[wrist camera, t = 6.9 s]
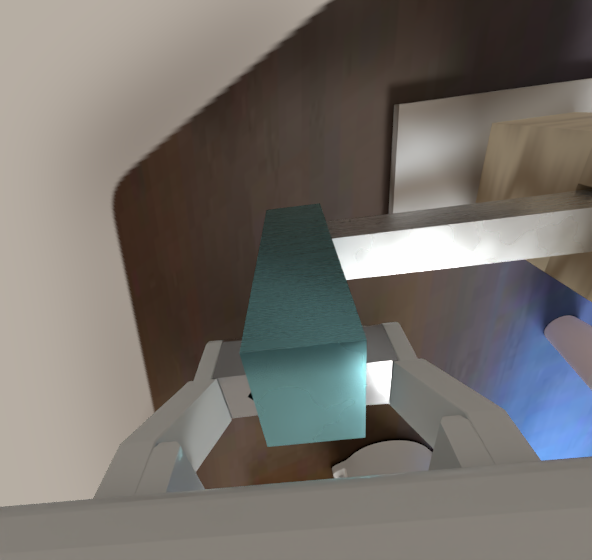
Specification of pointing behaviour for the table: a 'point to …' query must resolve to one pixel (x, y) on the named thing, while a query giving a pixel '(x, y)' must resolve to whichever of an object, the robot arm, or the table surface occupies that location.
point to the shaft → (340, 306)
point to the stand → (497, 155)
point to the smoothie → (573, 344)
